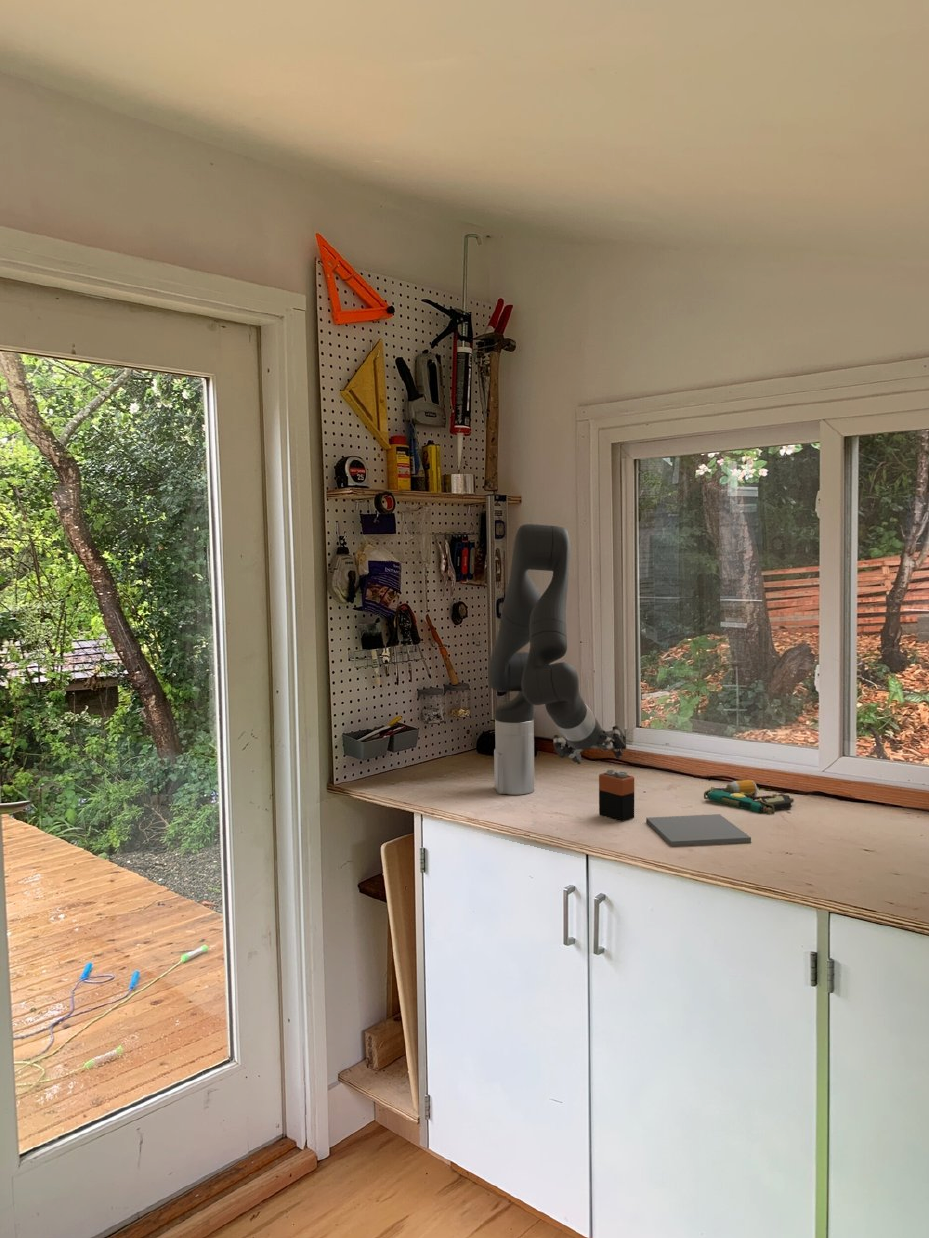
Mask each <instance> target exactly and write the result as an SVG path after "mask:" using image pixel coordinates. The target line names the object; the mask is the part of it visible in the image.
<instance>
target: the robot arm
mask: <svg viewBox="0 0 929 1238" xmlns="http://www.w3.org/2000/svg"><path fill="white" fill-rule="evenodd" d="M570 553H571V542H570V535H569V532H568V530H567V529H566V528H565V527H563V526H557V525H548V524H535V523H534V524H533V523H525V524H522V525H520V526H519V528H518V529H517V532H516V534H515V537H514V543H513V548H512V557H511V564H510V565H511V566H510V572H509V580H508V584H507V588H506V591H505V595H504V596H505V597H504V599H503V600H504V601H503V604H502V607H501V608H502V609H501V613H500V614H501V615H500V620H499V627H498V632H497V635H496V636H497V637H496V640H495V643H494V645H493V646H494V647H493V649H492V652H491V656H490V659H489V661H488V666H487V680H488V681H487V682H488V685H489V687H490V688H491V689H492V690H494V691H496V692H500V693H503V692H504V693H505V692H509V693H510V692H517V695H516V696H515V697H513V699H511V700H509V701H508V702H505V703H503V704H500V705H499V706H497V707H496V709H495V711H494V721H495V723H494V725H495V726H494V728H495V731H494V734H495V736H494V737H495V738H494V739H495V748H494V750H493V757H494V759H493V764H494V765H493V766H494V767H493V769H494V773H493V775H494V789H495V791H496V792H497V794H499V795H500V794H501V795H502V794H503V795H505V794H507V795H512V796H513V795H515V796H517V795H527V794H530V793H533V792H534V791H535V729H534V728H535V727H534V726H535V723H534V722H535V720H534V719H535V717H534V716H535V714H534V713H535V712H534V710H535V706H541V705H545V706H544V707H545V711H546V712H547V714H548V715H549V717H550V718H551V721H553V722H554V724H555V727H556V729H557V731H558V733H560V734H561V736H562V737H561V736H560V735H558V734H555V735H554V734H553V748H554V750H555V751H556V753H557V754H558V757H559V758H560V759H564V758H566V757H568V758H569V759H571V760H572V761H573V763H576V764H577V765H582V755H581V752H582V751H588V750H597V749H598V750H600V751H604V752H608V751H611V752H612V753H613V755H614V756H615V758H616V759H617V760H618V759H621V758H622V757H623V755H624V754H623V753H624V752H623V750H627V737H626V735H625V734H624V732H623V731H622V730H621V729H620V728H619V726H618V725H617V726H616V725H614V726H612V727H611V729H612V730H607V731H606V730H605V729H603V728H602V727H601V725H600V722H599V721H598V719H597V718H596V716H595V714H594V713H593V711H592V710H591V708H590V707H589V706H588V704H586V703H585V701H584V699H583V697H582V696H581V694H580V689H579V687H580V685H579V683H580V682H579V681H580V680H579V675H578V672H577V669H576V668H575V667H574V666H573V665H572V664H570V663H568V662H565V661H563V662H562V661H561V662H556V661H558V660H560V659H562V658H563V657H564V656H565V655H566V653H567V651H568V638H567V637H568V636H567V623H566V621H567V619H566V615H567V613H566V611H567V598H568V587H569V575H570V574H569V571H570V560H571V559H570V558H571V557H570V555H571V554H570ZM529 570H531V571H543V572H544V571H545V572H547V571H548V572H552V577H551V581H550V582H549V585H548V586H547V587H546V589H545V591H544V592H543V594H541V592H540V590H539V589H538V587H537V586H536V584H535V583H534V582H533V580H532V579H531V577H530V575H529V572H528V571H529ZM528 644H529V650H528V652H524V651H523V652H521V651H520V650H521V649H523V648H524V647H526V646H527V645H528ZM518 651H520V652H518ZM553 662H555V663H553ZM566 745H567V747H566Z"/></svg>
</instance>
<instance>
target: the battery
mask: <svg viewBox="0 0 929 1238" xmlns="http://www.w3.org/2000/svg"><path fill="white" fill-rule="evenodd" d="M598 802H599V803H598V814H599V815H600V816H602V817H605V818H609V819H612V820H615V821H618V822H624V821H627V820H632V819H634V818H635V777H634V775H629V774H628V772H627V771H621V770H620V771H617V772H616V771H615V770H614V769H606V772H604V773H600V774H599V775H598Z"/></svg>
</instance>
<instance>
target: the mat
mask: <svg viewBox="0 0 929 1238" xmlns="http://www.w3.org/2000/svg"><path fill="white" fill-rule="evenodd" d="M645 823H646V824H647V825H648V826H649V827H650V828H651V829H652V830H653V831H654V832H655V833H657V834H658V835H659V837H661V838H662V839H663V840H664V841H665V842H666V843H667V844H668V845H669V846H671V847H688V846H691V847H692V846H707V845H709V846H712V845H727V844H729V845H730V844H748V843H752V837H751V836H750V835H748V833H747V832H746V833H745V831H743V830H742V829H740V828H739V827H738V826H736V825H735V824H733V823H732V822H731V821H730V820H728V819H727V818H725V816H722V815H721V814H720V813H719V814H717V813H716V814H713V813H712V814H699V815H698V814H695V815H694V814H693V815H678V816H676V815H675V816H657V817H656V816H654V817H646V818H645Z"/></svg>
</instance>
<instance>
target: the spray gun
mask: <svg viewBox="0 0 929 1238" xmlns="http://www.w3.org/2000/svg"><path fill="white" fill-rule="evenodd" d="M757 795H758V786H757V783H756V782H755V781H754V780H752V779H746V780H745V779H744V780H735V781H731V782H730V783H728V784H726V787H713V786H711V787H710V788H709V789H707V790H705V791H704V792H703V800H704V799H705V800H710V801H713V802H717V803H721V804H725V805H729V806H733V807H737V808H741V809H745V810H748V811H750V812H754V813H758V814H762V813H768V814H775V811H779V810H786V809H790V808H791V807H792V804H793V803H794V801H795V800H794V799H795V798H793V797H790V795H788V794H784V793H779V794H777V793H773V794H772V795H761V796H757Z"/></svg>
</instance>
